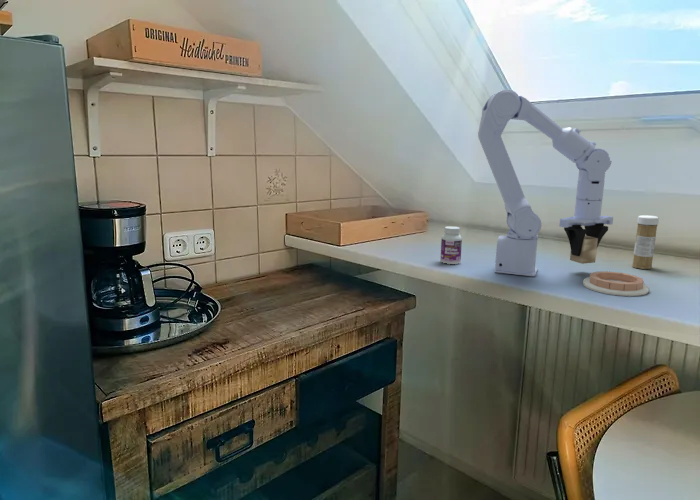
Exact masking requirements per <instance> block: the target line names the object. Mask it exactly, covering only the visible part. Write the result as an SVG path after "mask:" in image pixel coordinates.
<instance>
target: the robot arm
mask: <svg viewBox="0 0 700 500" xmlns="http://www.w3.org/2000/svg"><path fill="white" fill-rule="evenodd" d="M510 120H517V121H518V120H519V121H525V122H527V124H529V125H530V126H532V127H534V128H535V129H536V130H538V131H540V132H541V133H542V134H544V136H547V137H548V138H550V139H551V141H552V142H551V143H552V147H553V149H554V150H556V151H558V152H559V153H560V154H562V156H564V157H566V158H567V159H568V160H569V161H571V162H572V163H574V164H575V166H576V168H577V170H578V179H577V185H576V194H575V195H576V197H575V205H574V215H573V216H569V217H563V218H559V225H558V226H559V227H560V228H563V230H564V231H565V234H566V236H567V239H568V242H569V246H570V254H571V253H572V255H575V256H580V254H581V250H582V244H583V240H584V237H585V236H590V237H594V238H598V242H597V248H598V247H599V245H600V243H601V241H602V239H603V237H604V236H605V235H606V233H607V232H608V231H609V226H610V225H613V223H614V216H610V215H602V207H603V206H602V205H603V199H604V198H603V197H604V189H605V177H606V172H607V171H608V170H609V169H610V167H611V165H612V160H611V157H610V154H609V152H607V151H606V150H605V149H602V148H596V145H597V143H596V142H595V141H590V140H588V139H587V138H586V137H584V135H581V134H580V133H581V130H580V129H579V128H577V127H576V128H572V126H571V127H569V126H568V127H563V128H562V126H560V125H559V124H558V123H556V122H555V120H553V119H552V118H550V116H548V115H547V114H546V113H544V112H543V111H542V110H541V109H540V108H538V107H537V106H536V105H535V104H534V103H532V102H531V101H530V100H528V99H527V98H526V97H524V96H522V95H519V94H518V93H517V92H516V91H514V90H513V89H510V88H509V89H508V88H507V89H502V90H499V91H498V92H497V93H493V95H491V96H489V98H488V99H487V100H486V102H485V104H484V106H483V107H482V109H481V117H480V123H479V128H478V131H477V138H478V140H479V142H480V145H481V148H482V151H483V152H484V155H485V157H486V160H487V163H488V165H489V167H490V171H491V172H492V174H493V177H494V179H495V180H494V181H495V183H496V184H497V188H498V190H499V192H500V195H501V198H502V200H503V202H504V209H505V212H506V225H507V227H508V228H509V230H508V232H507V233H506V235H499V236H498V238H497V241H496V249H495V251H496V252H495V253H496V254H495V261H494V262H495V266H494V267H495V268H494V273H498V274H508V275H509V274H510V275H517V276H525V277H536V274H537V273H538V270H539V267H537V266H536V264H537V263H536V262H537V250H538V249H537V248H538V237H539V235H538V234H539V233H540V231H541V229H542V219H541V218H540V217H539V215H537V213H535V212H534V210H533V209H532V207H531V205H530V203H529V201H528V200H527V198H526V197H525V194H524V191H523V189H522V187H521V184H520V182H519V179H518V176H517V174H516V171H515V168H514V166H513V163H512V161H511V158H510V157H509V154H508V151H507V149H506V148H507V147H506V146H505V143H504V141H503V138H502V134H503V132H504V131H505V128H506V127H507V124H508V123H509V121H510ZM607 225H609V226H607Z"/></svg>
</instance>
